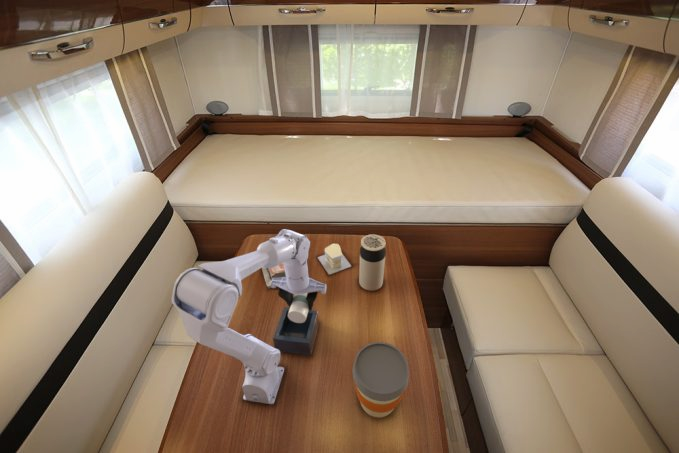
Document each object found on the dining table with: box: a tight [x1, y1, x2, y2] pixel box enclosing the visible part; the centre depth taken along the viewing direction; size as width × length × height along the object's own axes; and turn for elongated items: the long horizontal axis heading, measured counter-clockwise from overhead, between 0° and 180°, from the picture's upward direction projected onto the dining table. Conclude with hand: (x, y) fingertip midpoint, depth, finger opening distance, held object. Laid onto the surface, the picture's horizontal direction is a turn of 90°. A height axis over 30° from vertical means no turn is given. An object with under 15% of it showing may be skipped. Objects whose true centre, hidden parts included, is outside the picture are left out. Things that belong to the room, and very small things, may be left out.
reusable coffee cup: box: [352, 341, 410, 418], centre depth 77 cm, size 13×13×15 cm
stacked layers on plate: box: [317, 243, 352, 276], centre depth 119 cm, size 10×9×6 cm
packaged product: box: [261, 263, 286, 289], centre depth 117 cm, size 18×5×10 cm
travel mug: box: [358, 233, 387, 292], centre depth 107 cm, size 8×8×18 cm
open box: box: [272, 306, 320, 357], centre depth 94 cm, size 11×10×6 cm
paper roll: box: [288, 293, 309, 323], centre depth 91 cm, size 9×5×5 cm, turn 170°
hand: (301, 306), depth 92 cm, fingers closed on paper roll, 5 cm apart
